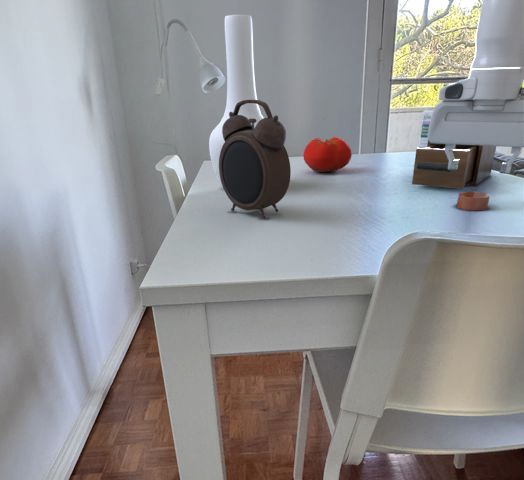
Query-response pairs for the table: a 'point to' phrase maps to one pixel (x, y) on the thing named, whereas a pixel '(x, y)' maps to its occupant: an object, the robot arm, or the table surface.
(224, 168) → the alarm clock
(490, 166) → the cabinet
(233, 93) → the vase
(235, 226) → the table surface
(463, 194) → the brown round bowl
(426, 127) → the syrup box
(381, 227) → the table surface
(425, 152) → the drawer
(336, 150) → the tomato
